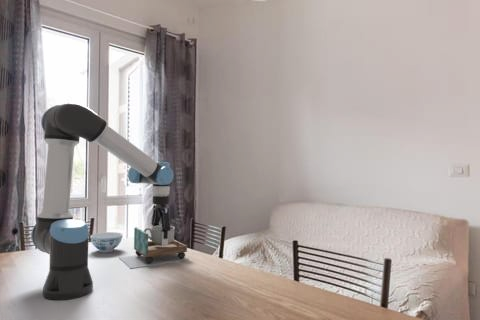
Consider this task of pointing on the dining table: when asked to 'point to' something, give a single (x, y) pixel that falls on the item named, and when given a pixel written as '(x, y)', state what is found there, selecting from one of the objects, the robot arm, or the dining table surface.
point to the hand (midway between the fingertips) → (160, 243)
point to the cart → (155, 247)
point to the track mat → (157, 260)
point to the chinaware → (106, 241)
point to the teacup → (160, 234)
